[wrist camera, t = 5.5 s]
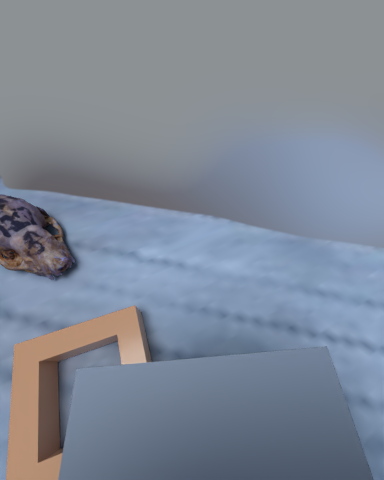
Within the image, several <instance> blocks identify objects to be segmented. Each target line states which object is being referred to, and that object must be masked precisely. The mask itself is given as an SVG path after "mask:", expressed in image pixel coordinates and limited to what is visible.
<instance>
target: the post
mask: <svg viewBox="0 0 384 480" xmlns="http://www.w3.org/2000/svg"><path fill="white" fill-rule="evenodd" d="M58 480H374V479H373V477H372V474H371V471H370V468H369V465H368V462H367V459H366V457H365V454H364V451H363V448H362V445H361V442H360V440H359V437H358V434H357V431H356V428H355V425H354V422H353V420H352V417H351V414H350V411H349V408H348V405H347V403H346V400H345V397H344V394H343V391H342V388H341V385H340V383H339V380H338V377H337V374H336V371H335V368H334V366H333V363H332V360H331V357H330V354H329V351H328V348H327V346H325V347H314V348H303V349H292V350H281V351H269V352H258V353H247V354H236V355H225V356H213V357H202V358H191V359H180V360H169V361H157V362H146V363H135V364H124V365H113V366H101V367H90V368H79V369H76V374H75V380H74V386H73V392H72V398H71V404H70V411H69V417H68V423H67V429H66V435H65V441H64V447H63V454H62V460H61V466H60V472H59V478H58Z"/></svg>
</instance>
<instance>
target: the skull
mask: <svg viewBox="0 0 384 480" xmlns="http://www.w3.org/2000/svg"><path fill="white" fill-rule="evenodd" d="M50 224H51V225H52V226H53V227H54V228H56V229H57V230H58V233H59V235H54V236H53V235H51V234H50V233H49V232H48V231H46V230H44V228H45V227H47V226H48V225H50ZM63 236H64V234H63V230H62V228H61V227H60V226H59V224H58V223H57V222H56V220H55V219H54V218H53V217H49V215H48V214H47V213H46V212H45V211H44V210H43V209H41V208H39V207H35V206H33V205H32V204H30V203H28V202H26V201H25V200H23V199H20V198H14V197H11V196H6V195H0V264H1V265H2V266H4V267H5V268H6V269H8V270H14V271H17V270H24V271H27V272H31V273H35V274H37V275H39V276H41V275H43V276H47V277H48V278H50V279H51V280H54V277H53V276H52V274H54V275H56V276H59V275H63V274H62V273H61V272H63V271H65V270H66V269H67V268H68V267H70V268H71V265H72V262H73V263H75V260H74V258H73V257H72V256H71V255H70V253H69V249H68V247H67V246H66V245H65V243H64V240H63ZM10 252H13V253H10ZM3 255H4V256H6V257H8V258H4V257H3Z"/></svg>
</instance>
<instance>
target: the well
mask: <svg viewBox="0 0 384 480" xmlns="http://www.w3.org/2000/svg"><path fill="white" fill-rule="evenodd" d="M116 341H118V344H119V350H120V357H121V363H122V365H124V364H135V363H146V362H152V360H151V355H150V351H149V346H148V342H147V337H146V332H145V328H144V323H143V318H142V314H141V311H140V310H139V309H138V308H137V307H136V306H135V305H134V306H131V307H128V308H125V309H122V310H119V311H116V312H113V313H110V314H107V315H104V316H101V317H98V318H95V319H92V320H89V321H86V322H83V323H80V324H76V325H73V326H70V327H67V328H64V329H61V330H58V331H55V332H52V333H49V334H46V335H43V336H40V337H37V338H34V339H31V340H28V341H25V342H22V343H19V344H15V345H14V359H13V375H12V392H11V408H10V424H9V441H8V457H7V473H6V480H58V478H59V472H60V466H61V460H62V454H63V448H61V449H60V425H59V389H58V362H59V361H62V360H65V359H68V358H70V357H73V356H76V355H79V354H82V353H85V352H88V351H90V350H93V349H96V348H99V347H102V346H105V345H107V344H110V343H113V342H116Z"/></svg>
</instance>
